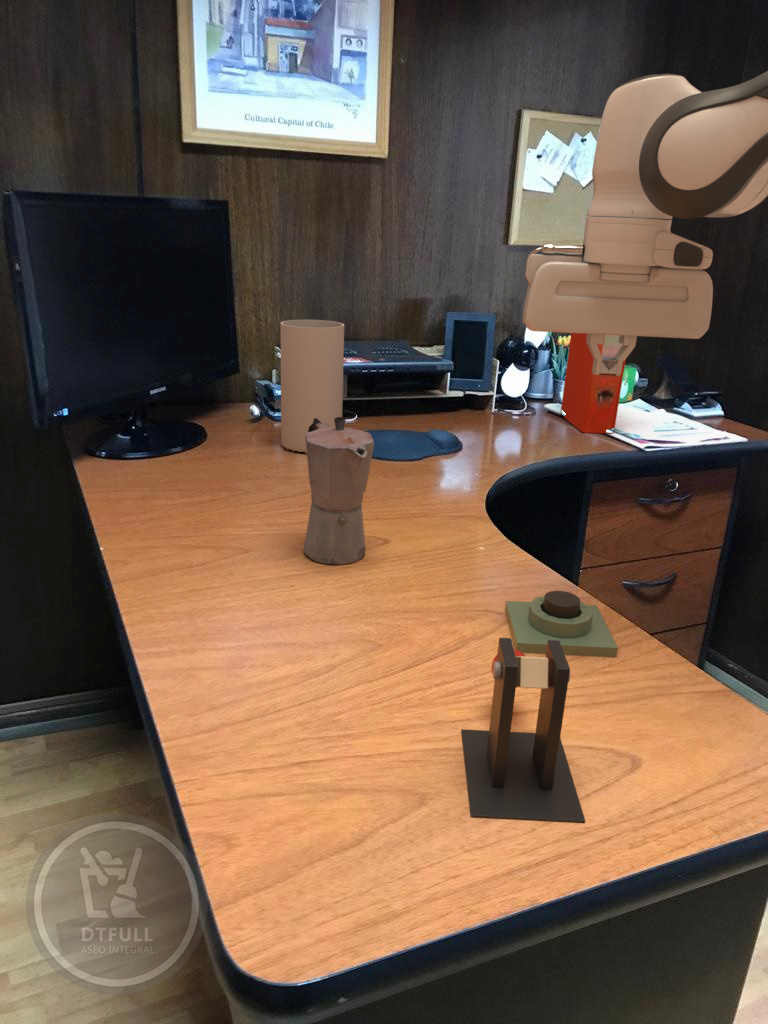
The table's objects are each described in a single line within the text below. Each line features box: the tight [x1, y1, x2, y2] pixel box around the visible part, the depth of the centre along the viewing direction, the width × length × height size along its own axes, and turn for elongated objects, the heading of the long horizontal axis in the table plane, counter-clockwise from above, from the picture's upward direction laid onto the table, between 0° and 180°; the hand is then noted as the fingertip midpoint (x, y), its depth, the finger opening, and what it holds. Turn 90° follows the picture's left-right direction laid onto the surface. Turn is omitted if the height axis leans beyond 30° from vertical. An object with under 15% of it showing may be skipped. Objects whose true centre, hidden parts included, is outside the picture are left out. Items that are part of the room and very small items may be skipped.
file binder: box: [560, 333, 627, 434], centre depth 184 cm, size 8×17×32 cm, turn 5°
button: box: [543, 590, 581, 619], centre depth 88 cm, size 4×4×2 cm
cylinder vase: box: [280, 319, 345, 453], centre depth 156 cm, size 12×12×25 cm
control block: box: [504, 595, 619, 658], centre depth 89 cm, size 11×10×4 cm
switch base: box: [460, 637, 586, 824], centre depth 64 cm, size 11×9×13 cm
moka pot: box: [303, 416, 375, 566], centre depth 107 cm, size 10×15×20 cm, turn 36°
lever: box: [491, 648, 548, 690], centre depth 67 cm, size 13×4×4 cm
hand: (606, 374), depth 89 cm, fingers closed
